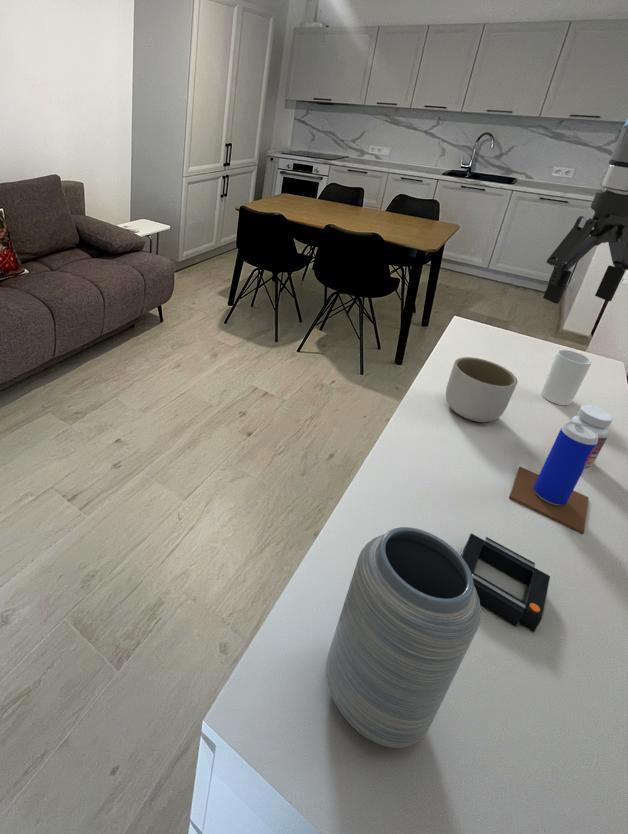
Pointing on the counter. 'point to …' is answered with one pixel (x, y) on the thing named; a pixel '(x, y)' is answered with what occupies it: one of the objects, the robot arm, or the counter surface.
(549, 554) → the counter surface
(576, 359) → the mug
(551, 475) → the beverage can
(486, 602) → the frame
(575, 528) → the cork mat
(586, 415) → the pill bottle
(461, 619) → the vase
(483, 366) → the planter
